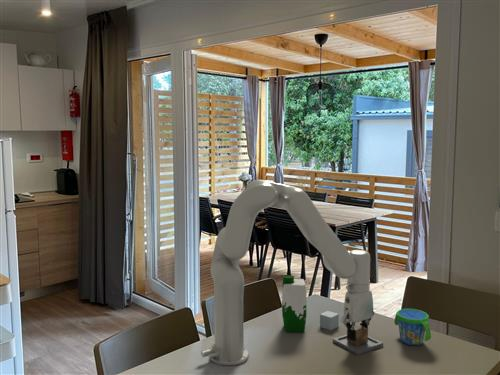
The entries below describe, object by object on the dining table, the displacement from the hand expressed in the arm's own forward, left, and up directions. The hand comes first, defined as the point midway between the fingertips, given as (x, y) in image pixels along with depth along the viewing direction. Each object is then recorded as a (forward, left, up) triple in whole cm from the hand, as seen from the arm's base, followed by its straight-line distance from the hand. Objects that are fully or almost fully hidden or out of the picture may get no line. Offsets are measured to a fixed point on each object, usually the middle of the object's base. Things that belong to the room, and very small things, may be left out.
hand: (357, 336), depth 167 cm
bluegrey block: (+2, +17, -3) cm, 17 cm away
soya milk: (-10, +23, -3) cm, 25 cm away
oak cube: (0, 0, -2) cm, 2 cm away
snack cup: (+17, -9, -3) cm, 20 cm away
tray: (0, 0, -3) cm, 3 cm away
